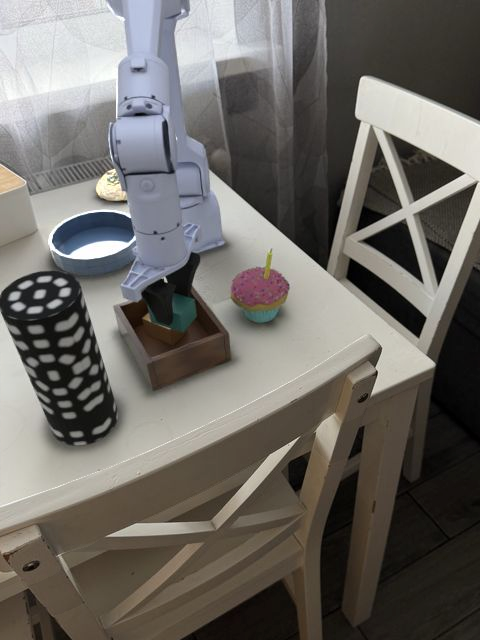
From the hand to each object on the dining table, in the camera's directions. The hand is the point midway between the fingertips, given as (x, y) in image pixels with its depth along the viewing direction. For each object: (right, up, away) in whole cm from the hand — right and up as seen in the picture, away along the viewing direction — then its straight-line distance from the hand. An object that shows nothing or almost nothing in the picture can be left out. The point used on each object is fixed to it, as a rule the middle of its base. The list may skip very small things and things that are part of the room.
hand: (173, 312), depth 78 cm
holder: (-1, -4, +7) cm, 8 cm away
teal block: (0, -1, +1) cm, 1 cm away
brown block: (-2, -2, +8) cm, 9 cm away
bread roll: (-16, +27, +41) cm, 51 cm away
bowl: (-17, +12, +25) cm, 33 cm away
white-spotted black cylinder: (-11, -14, -2) cm, 18 cm away
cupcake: (+11, 0, +12) cm, 16 cm away
